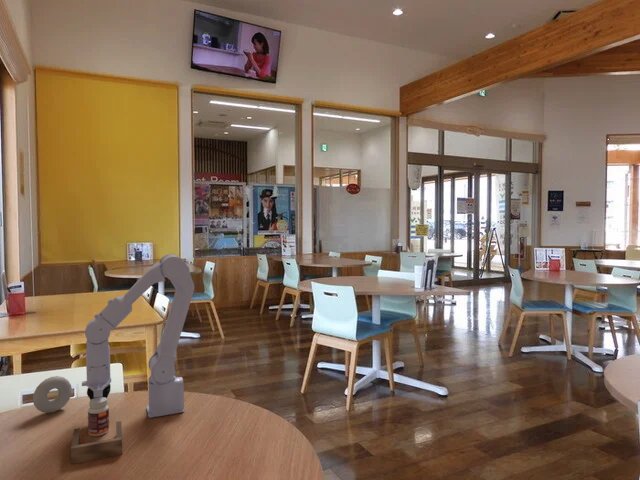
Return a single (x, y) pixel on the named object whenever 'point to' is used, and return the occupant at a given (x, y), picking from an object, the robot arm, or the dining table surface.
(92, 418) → the pill bottle
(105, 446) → the brown u-shaped block
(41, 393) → the donut
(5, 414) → the dining table surface
